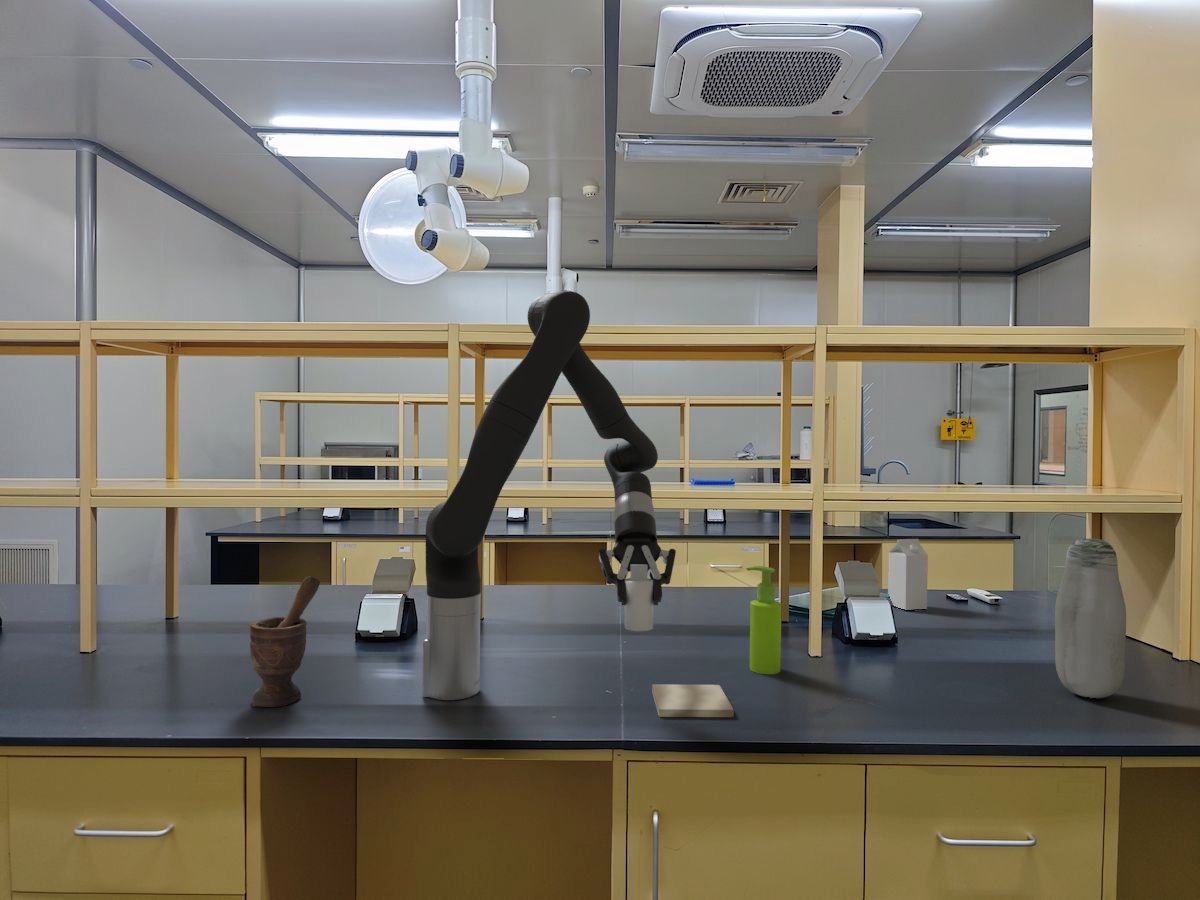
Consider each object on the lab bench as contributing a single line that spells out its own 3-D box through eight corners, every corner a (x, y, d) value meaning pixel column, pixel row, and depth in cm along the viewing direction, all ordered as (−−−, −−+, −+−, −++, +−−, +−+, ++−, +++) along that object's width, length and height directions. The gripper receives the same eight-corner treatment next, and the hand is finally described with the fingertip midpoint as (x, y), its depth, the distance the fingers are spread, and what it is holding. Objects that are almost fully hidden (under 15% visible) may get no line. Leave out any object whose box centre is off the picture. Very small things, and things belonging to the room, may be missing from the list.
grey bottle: (1111, 710, 120) (1114, 544, 119) (1045, 692, 128) (1047, 537, 128) (1133, 698, 125) (1135, 540, 125) (1068, 682, 134) (1070, 534, 134)
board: (659, 716, 114) (659, 709, 114) (651, 691, 126) (651, 684, 126) (733, 717, 114) (733, 709, 114) (719, 691, 126) (719, 684, 126)
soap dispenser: (753, 662, 144) (754, 563, 144) (785, 669, 139) (786, 567, 139) (739, 668, 139) (740, 567, 139) (772, 676, 135) (773, 571, 135)
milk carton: (887, 606, 198) (888, 537, 198) (908, 604, 200) (909, 537, 200) (905, 611, 191) (906, 541, 191) (927, 610, 193) (928, 540, 193)
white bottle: (625, 631, 118) (625, 567, 118) (623, 623, 122) (623, 562, 122) (654, 631, 118) (654, 567, 118) (651, 623, 123) (651, 562, 123)
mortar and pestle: (281, 684, 127) (283, 572, 127) (325, 687, 125) (327, 574, 125) (237, 707, 116) (239, 584, 115) (285, 711, 114) (287, 587, 114)
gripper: (596, 509, 127) (597, 590, 115) (675, 509, 128) (685, 590, 116) (595, 535, 133) (596, 615, 121) (671, 534, 133) (680, 614, 121)
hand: (640, 602), depth 118 cm, fingers closed on white bottle, 4 cm apart
